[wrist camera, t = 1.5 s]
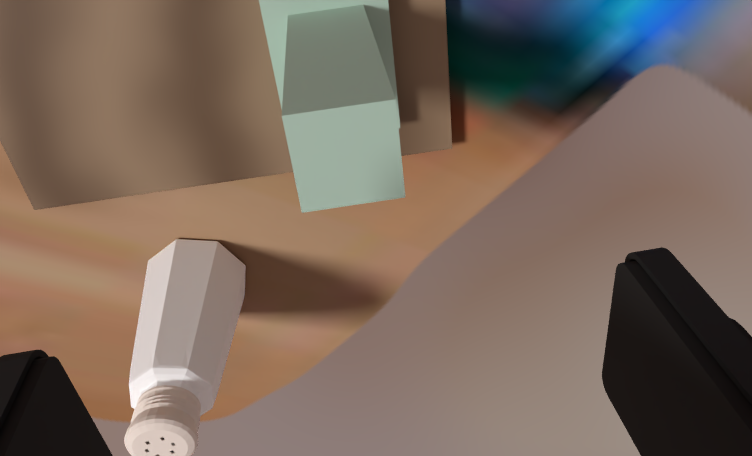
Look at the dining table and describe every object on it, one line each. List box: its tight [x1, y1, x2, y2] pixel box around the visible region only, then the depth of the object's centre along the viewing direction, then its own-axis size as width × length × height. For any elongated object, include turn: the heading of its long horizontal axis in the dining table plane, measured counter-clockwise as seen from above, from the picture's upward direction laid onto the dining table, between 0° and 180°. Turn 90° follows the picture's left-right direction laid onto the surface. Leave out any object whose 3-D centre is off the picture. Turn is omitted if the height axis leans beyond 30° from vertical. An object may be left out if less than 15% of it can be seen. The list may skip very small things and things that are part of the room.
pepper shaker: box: [124, 239, 246, 456], centre depth 29 cm, size 5×5×11 cm
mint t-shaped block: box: [259, 0, 405, 213], centre depth 22 cm, size 5×8×11 cm, turn 6°
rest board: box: [0, 0, 452, 210], centre depth 27 cm, size 20×12×1 cm, turn 96°
